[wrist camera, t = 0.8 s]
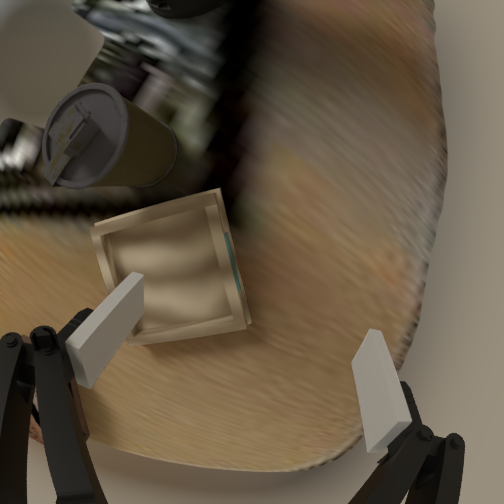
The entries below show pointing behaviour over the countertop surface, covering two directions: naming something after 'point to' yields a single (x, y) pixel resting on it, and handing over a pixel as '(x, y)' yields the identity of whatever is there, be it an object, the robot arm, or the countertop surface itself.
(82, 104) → the canister
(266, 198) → the countertop surface
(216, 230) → the square tray
